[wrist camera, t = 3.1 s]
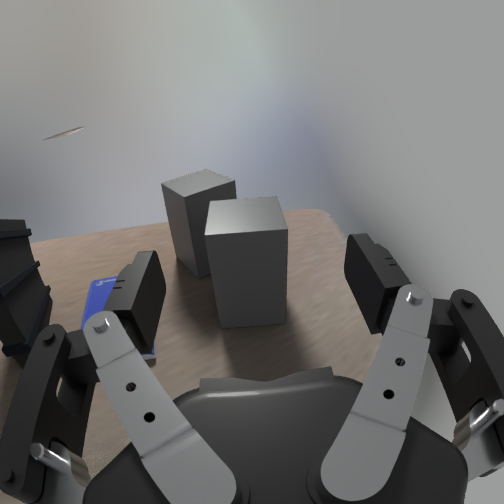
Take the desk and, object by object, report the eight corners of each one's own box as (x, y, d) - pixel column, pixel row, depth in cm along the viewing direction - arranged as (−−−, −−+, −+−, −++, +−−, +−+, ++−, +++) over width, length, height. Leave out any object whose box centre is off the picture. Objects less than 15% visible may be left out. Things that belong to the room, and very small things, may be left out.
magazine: (7, 386, 17) (-45, 230, 15) (45, 338, 30) (12, 227, 27) (34, 382, 18) (-19, 218, 16) (67, 333, 31) (34, 219, 28)
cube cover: (285, 323, 27) (287, 229, 21) (220, 328, 26) (204, 235, 21) (277, 282, 32) (276, 196, 26) (222, 286, 31) (210, 201, 26)
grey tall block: (199, 278, 33) (183, 197, 27) (176, 256, 37) (161, 183, 31) (241, 258, 36) (235, 180, 30) (215, 239, 40) (206, 169, 34)
